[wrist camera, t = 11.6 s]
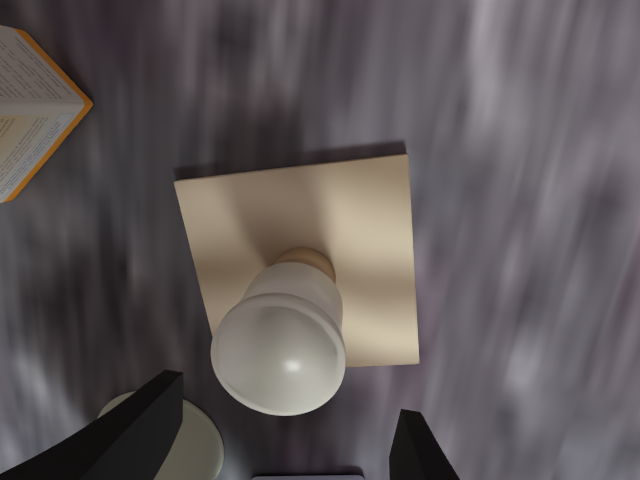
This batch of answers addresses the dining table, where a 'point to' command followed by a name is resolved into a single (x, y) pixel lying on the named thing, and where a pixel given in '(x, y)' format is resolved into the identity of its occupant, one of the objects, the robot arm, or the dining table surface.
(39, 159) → the supplement box
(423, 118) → the dining table surface
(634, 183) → the dining table surface
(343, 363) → the cap
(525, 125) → the dining table surface
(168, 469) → the can
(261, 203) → the square wooden board
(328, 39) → the dining table surface
